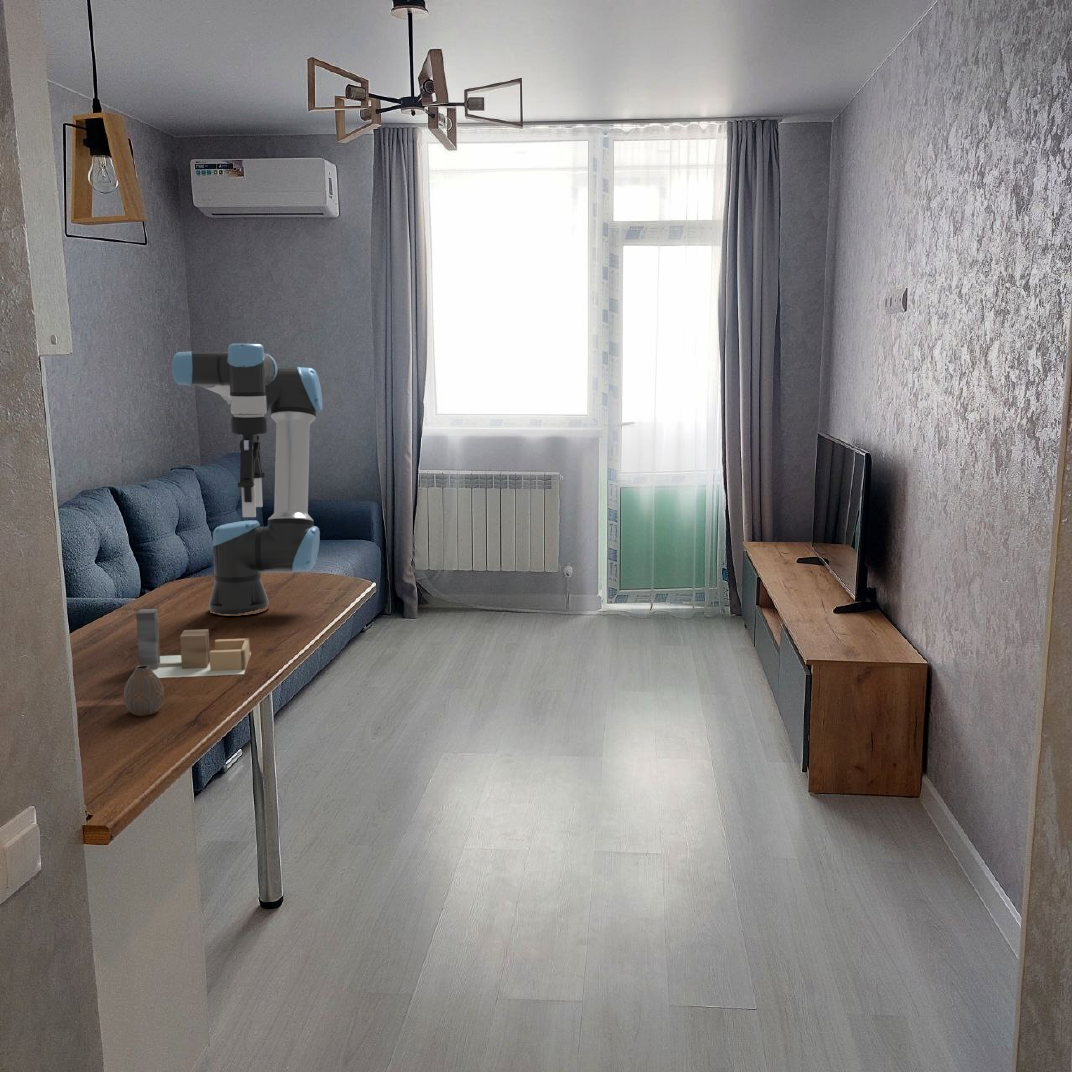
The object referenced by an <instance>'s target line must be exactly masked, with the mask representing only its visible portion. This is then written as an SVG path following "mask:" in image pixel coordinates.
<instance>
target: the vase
mask: <svg viewBox="0 0 1072 1072" xmlns="http://www.w3.org/2000/svg"><path fill="white" fill-rule="evenodd" d="M164 689H165V688H164V685H163V683H162V680H161V678H158V677H157V676H156V675H155V674H154V673H153V672H152V670H151V669H150V667H149V666H148V665H141V666H139V665H137V666H136V667H135V668H134V671H133V673H132V674H131V675H130V676H129V678H128V680H127V681H126V683H125V686H124V690H123V700H124V704H125V706H126V708H127V710H128V711H129V713H131V714H132V715H134V716H136V717H145V716H150V715H154V714H156V713H157V712H158V711H159V710H160V709H161V707H162V705H163V703H164V700H165V699H164V698H165V690H164Z"/></svg>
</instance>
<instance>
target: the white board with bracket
mask: <svg viewBox="0 0 1072 1072" xmlns="http://www.w3.org/2000/svg"><path fill="white" fill-rule="evenodd" d="M250 648H251V647H250V638H249V637H247V638H228V639H226V638H223V639H222V638H221V639H215V640H214V650H213V649H212V650H210V662H209V664H208V667H207V668H192V669H182V666H172V667H158V669H151V670H152V672H153V673H154V674H155V675H156V676H157V677H158V678H159V679H165V678H166V679H167V678H171V679H172V678H189V677H211V676H232V675H233V676H235V675H245V672H246V670H247V667H248V662H249V661H250V657H251V655H252V651H250V650H251V649H250ZM176 662H181V654H177V655H160V663H176Z"/></svg>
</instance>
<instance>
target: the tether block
mask: <svg viewBox="0 0 1072 1072" xmlns="http://www.w3.org/2000/svg"><path fill="white" fill-rule="evenodd" d="M135 615H136V631H137V649H138V652H137V653H138V666H141V665H148V666H149V667H150V669H158V667H172V666H182V669H192V668H207V667H208V664H209V662H210V651H211V650H210V634H209V633H210V632H209V631H210V630H209V628H208V629H207V628H206V629H205V628H204V629H203V628H202V629H185V630H184V629H183V631H182V633H181V634H180V636H179V639H180V640H179V641H180V655H181V662H176V663H160V656H161V651H160V637H159V636H160V635H159V634H160V633H159V632H160V631H159V618H158V608H151V609H150V608H145V609H143V608H141V609H139V610H138V611H137V612H136V614H135Z"/></svg>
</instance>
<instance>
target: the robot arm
mask: <svg viewBox="0 0 1072 1072" xmlns="http://www.w3.org/2000/svg"><path fill="white" fill-rule="evenodd" d="M171 371H172V372H171V373H172V378H173V380H174V382H175V383H176V384H177V385H179V386H188V387H191V386H196V387H201V388H204V389H206V390H209V391H210V392H213V393H215V394H218V395H220V397H221V398H222V399H223V400H224V401H226V403H227V405H231V406H230V414H232V415H233V416H231V418H230V426H231V428H230V429H231V433H232V434H233V435H242V439H241V440H240V441H239V450H240V453H239V454H240V455H239V456H240V463H239V465H240V467H239V468H240V469H239V472H240V473H239V476H240V477H239V482H237V487H238V488H241V491H240V492H241V508H242V513H241V514H242V518H256V517H257V510H256V509H257V508H263V506H264V505H263V482H262V478H265V472H263V468H262V460H261V441H260V436H259V435H265V434H266V433H267V432H268V419H267V418H268V417H266V416H265V415H266V414H267V412H270V418H271V419H272V420H273V421H274V423H276V429H275V431H276V435H275V465H274V469H275V470H274V471H275V472H274V500H273V501H274V505H273V507H274V508H273V510H274V511H273V514H272V515H271V516H270V517H268V519H267V525H266V526H260V525H261V524H260V523H259V521H258V520H255V519H254V520H243V521H235V522H231V523H230V522H228V523H225V524H221V525H219V526H217V527H215V529H214V530H213V532H212V545H211V546H212V554H213V555H212V556H213V568H214V569H213V572H214V575H213V577H214V584H213V588H212V591H211V594H210V598H209V601H208V610H209V609H210V611H212V612H215V613H221V614H238V613H245V612H250V611H255V610H258V609H263V608H265V607H267V606H268V604H269V605H270V603H269V598H268V595H267V593H266V590H265V588H264V585H263V582H262V578H261V577H262V576H261V575H262V572H293V573H297V572H307V571H308V572H309V571H310V570H312V569H313V568H314V567H315V564H316V562H317V559H318V555H319V549H320V543H321V542H320V541H321V540H320V539H321V538H320V536H321V532H320V528H319V527H318V526H315V525H314V523H315V522H314V519H313V518H312V517H311V515H309V513H308V512H309V508H308V507H309V477H310V473H309V472H310V471H309V470H310V432H311V431H310V430H311V424H313V422H315V420H316V419H317V418H316V417H317V416H316V415H317V413H320V412H322V411H323V393H322V387H321V383H320V378H319V374H318V373H317V371H316V370H315V369H314V368H311V367H300V366H278V365H277V362H276V360H275V359H274V357H272V355H270V354H268V353H267V352H266V353H265V349H264V346H263V344H260V343H231V344H229V346H228V348H227V351H224V352H223V351H220V352H219V351H214V352H213V351H191V350H188V351H178V352H176V353H175V354H174V355H173V357H172V362H171Z"/></svg>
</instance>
